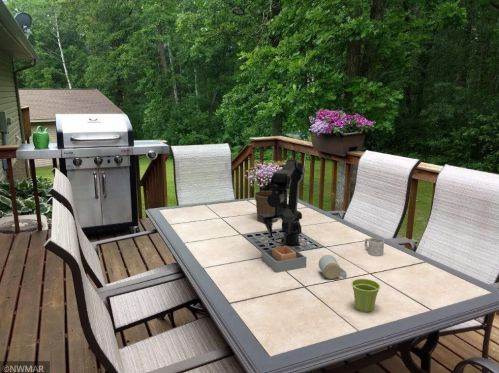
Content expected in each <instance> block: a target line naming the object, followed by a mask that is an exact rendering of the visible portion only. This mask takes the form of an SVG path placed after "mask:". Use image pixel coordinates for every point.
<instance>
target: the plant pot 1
mask: <svg viewBox="0 0 499 373" xmlns="http://www.w3.org/2000/svg"><path fill="white" fill-rule="evenodd" d="M272 191H273V190H261V191H260V190H259V191H256V192H254V199H255V203H256V204H255V206H256V220H257V221H258V222H260V221H259V216H260V215H261V214H269V215H270V216H273V215H274V214H273V211H274V207H271V206H270V205H269V204H268V202H267V198H268V196H269V195H270V194H272ZM278 220H279V219H276V220H273V221H272V223H276V222H278ZM260 223H261V222H260Z"/></svg>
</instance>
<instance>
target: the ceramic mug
mask: <svg viewBox="0 0 499 373" xmlns="http://www.w3.org/2000/svg"><path fill="white" fill-rule="evenodd" d="M318 268H319V269H320V271H321V273H322V274H323V276H324V277H325V278H327V279H328V280H335V279H337V278H338V277H342V278H345V277H347V274H348V273H347V271H346V270H345V269H344V268H342V267H341V266H340V264H339V263H338V260H337V259H336V257H335V256H333V255H331V254H324V255H323V256H321V257H320V259H319V260H318Z"/></svg>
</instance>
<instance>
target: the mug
mask: <svg viewBox="0 0 499 373" xmlns="http://www.w3.org/2000/svg"><path fill="white" fill-rule="evenodd" d="M364 248H366V250H368V251H367V253H368V255H370V256H372V257H382V256H384V249H385V240H384V239H383V238H381V237H380V238H379V237H371V238H365V240H364Z"/></svg>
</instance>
